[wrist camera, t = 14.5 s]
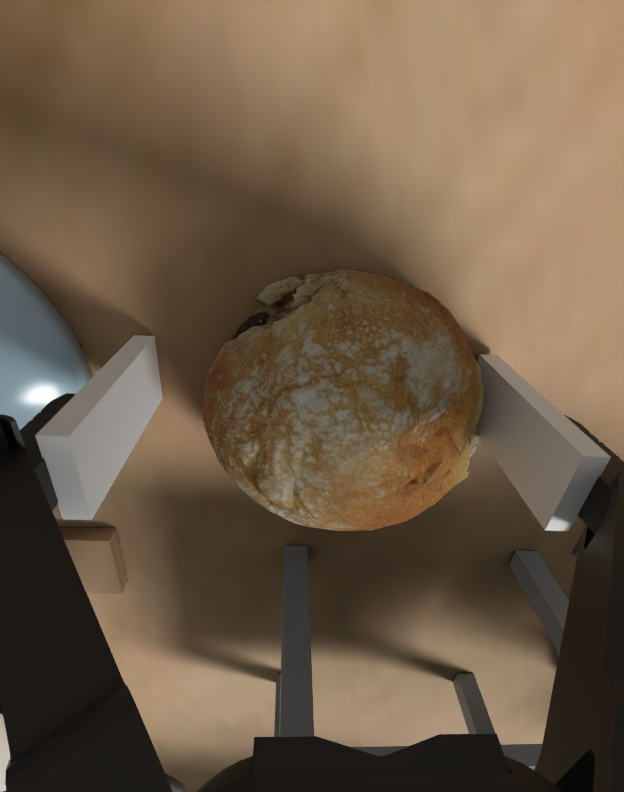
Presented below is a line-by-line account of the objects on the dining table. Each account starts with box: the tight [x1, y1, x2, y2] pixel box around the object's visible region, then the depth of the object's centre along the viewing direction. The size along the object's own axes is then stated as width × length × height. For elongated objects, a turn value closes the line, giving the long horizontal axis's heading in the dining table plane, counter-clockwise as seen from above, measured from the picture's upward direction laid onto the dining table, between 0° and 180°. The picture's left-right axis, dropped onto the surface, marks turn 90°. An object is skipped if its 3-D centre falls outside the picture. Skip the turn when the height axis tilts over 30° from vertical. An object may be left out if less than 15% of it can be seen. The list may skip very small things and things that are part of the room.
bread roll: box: [203, 269, 484, 531], centre depth 15 cm, size 10×10×8 cm
